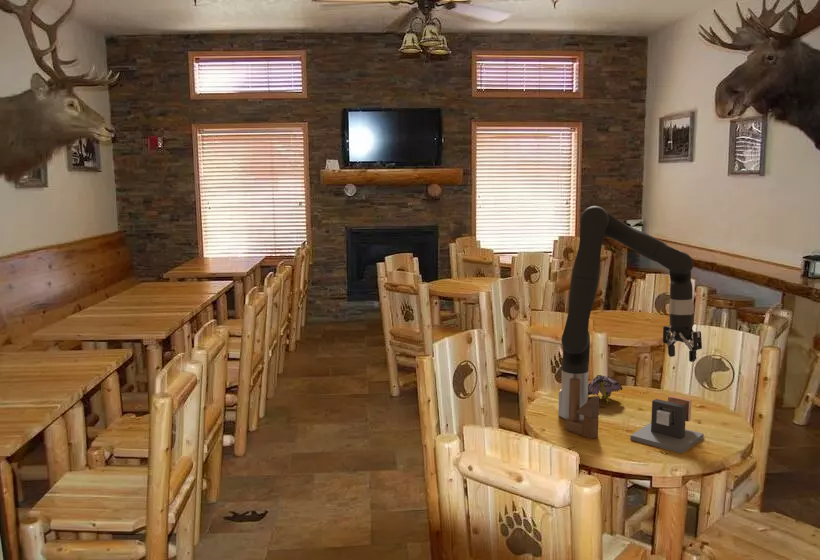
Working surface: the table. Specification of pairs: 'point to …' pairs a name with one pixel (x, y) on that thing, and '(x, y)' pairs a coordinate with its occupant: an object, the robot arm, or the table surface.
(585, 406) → the wooden block
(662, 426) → the rubber collar
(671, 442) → the base plate
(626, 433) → the table surface
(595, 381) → the decorative flower
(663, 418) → the sliding block
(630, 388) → the table surface
